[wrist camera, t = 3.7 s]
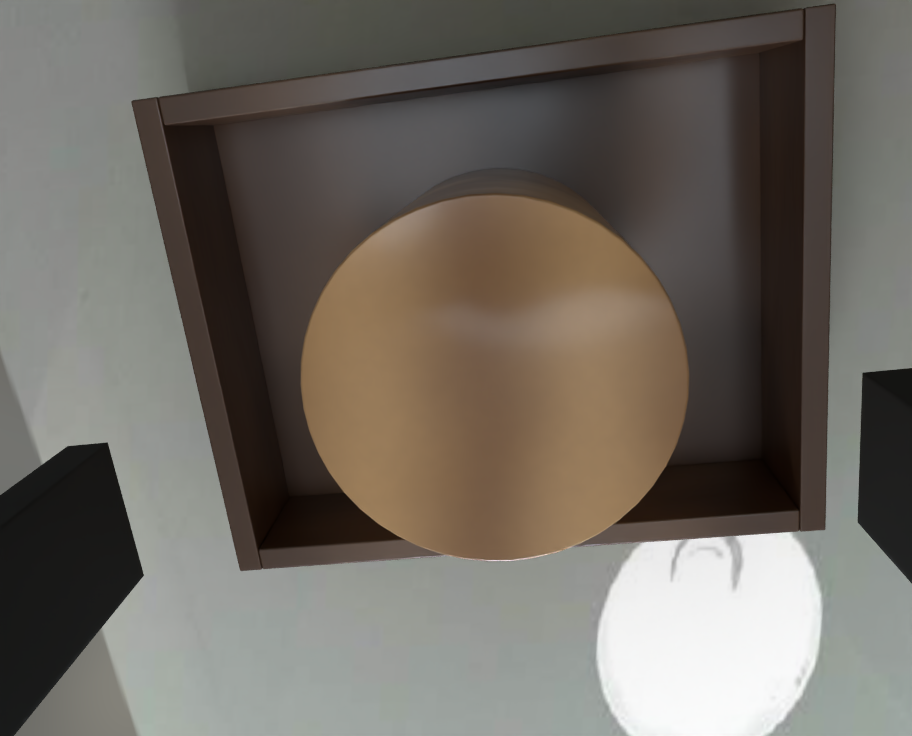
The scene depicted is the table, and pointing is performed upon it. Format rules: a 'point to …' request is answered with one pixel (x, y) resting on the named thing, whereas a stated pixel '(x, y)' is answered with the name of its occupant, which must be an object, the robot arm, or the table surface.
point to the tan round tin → (495, 370)
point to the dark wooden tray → (555, 156)
